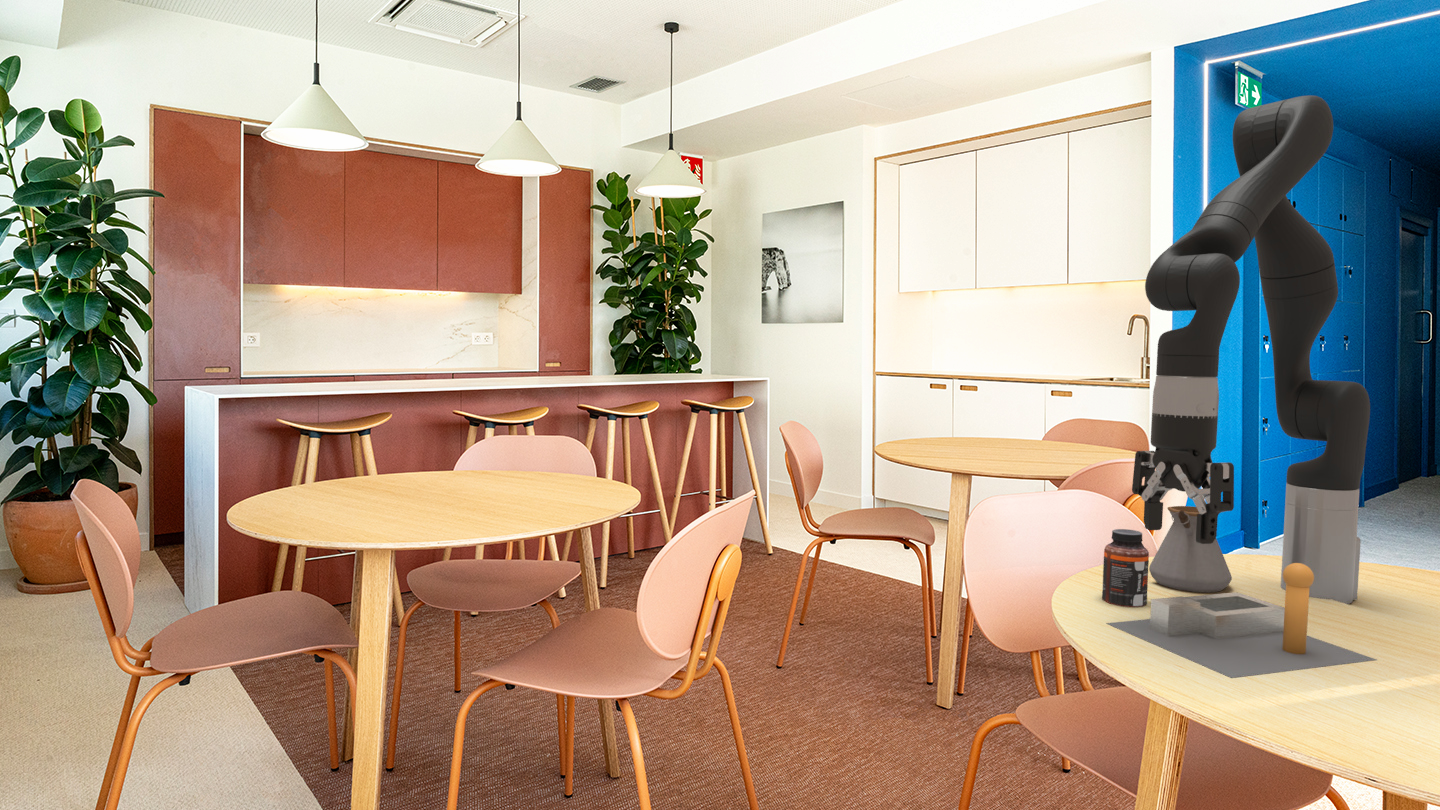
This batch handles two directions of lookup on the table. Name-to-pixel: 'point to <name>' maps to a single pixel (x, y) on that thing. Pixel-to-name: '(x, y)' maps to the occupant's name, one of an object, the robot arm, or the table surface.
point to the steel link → (1216, 616)
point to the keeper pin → (1296, 607)
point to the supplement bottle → (1125, 569)
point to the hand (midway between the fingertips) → (1177, 536)
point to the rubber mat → (1244, 651)
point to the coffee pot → (1189, 557)
